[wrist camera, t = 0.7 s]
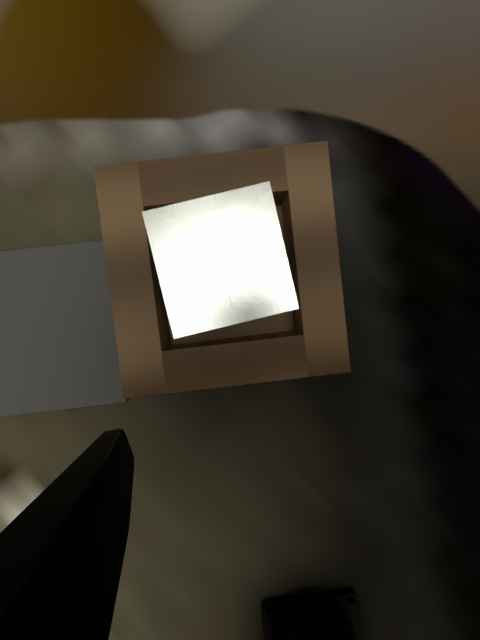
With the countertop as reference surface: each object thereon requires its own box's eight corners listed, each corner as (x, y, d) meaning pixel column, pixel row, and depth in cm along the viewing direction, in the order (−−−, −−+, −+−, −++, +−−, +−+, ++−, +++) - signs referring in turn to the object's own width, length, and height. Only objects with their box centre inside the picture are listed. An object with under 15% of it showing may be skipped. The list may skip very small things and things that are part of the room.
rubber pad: (132, 395, 25) (126, 402, 23) (-20, 413, 25) (-36, 421, 23) (113, 243, 24) (104, 239, 23) (-43, 261, 24) (-61, 258, 23)
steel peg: (275, 306, 23) (299, 308, 15) (195, 325, 23) (173, 338, 15) (256, 224, 22) (269, 180, 14) (174, 244, 22) (142, 211, 14)
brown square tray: (327, 357, 25) (350, 371, 20) (146, 379, 25) (123, 398, 20) (308, 174, 24) (327, 140, 19) (122, 194, 24) (93, 166, 19)
